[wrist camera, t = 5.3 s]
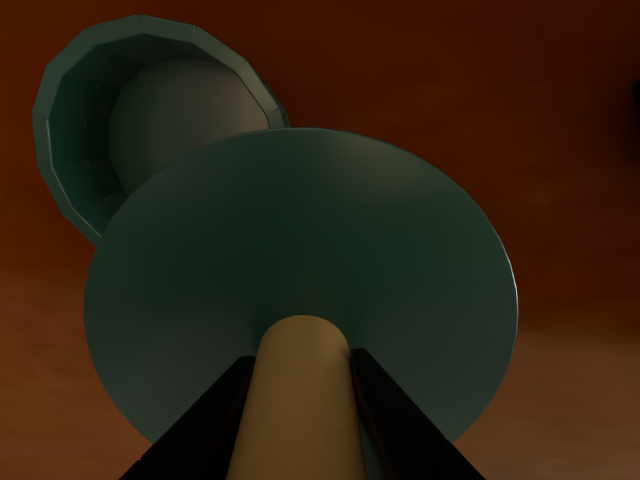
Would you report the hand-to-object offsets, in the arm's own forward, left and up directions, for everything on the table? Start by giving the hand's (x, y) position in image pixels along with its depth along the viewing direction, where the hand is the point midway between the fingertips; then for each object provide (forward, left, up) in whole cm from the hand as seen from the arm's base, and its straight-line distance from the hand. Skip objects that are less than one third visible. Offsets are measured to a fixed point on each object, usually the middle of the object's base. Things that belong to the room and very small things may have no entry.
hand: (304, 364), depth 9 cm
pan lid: (0, 0, -1) cm, 1 cm away
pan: (+8, +3, -13) cm, 15 cm away
